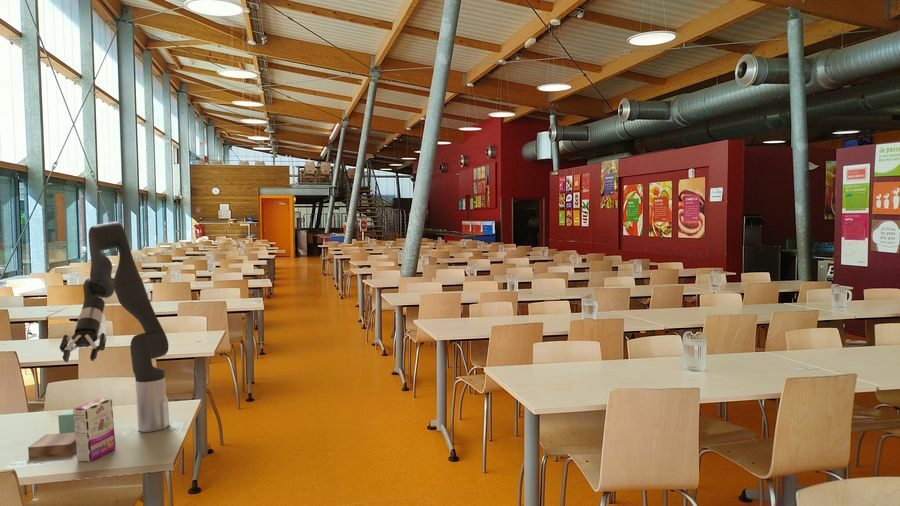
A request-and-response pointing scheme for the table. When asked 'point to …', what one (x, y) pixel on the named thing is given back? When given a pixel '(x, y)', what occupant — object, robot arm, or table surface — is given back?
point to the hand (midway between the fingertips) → (78, 360)
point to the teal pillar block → (66, 422)
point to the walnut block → (53, 446)
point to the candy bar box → (94, 429)
